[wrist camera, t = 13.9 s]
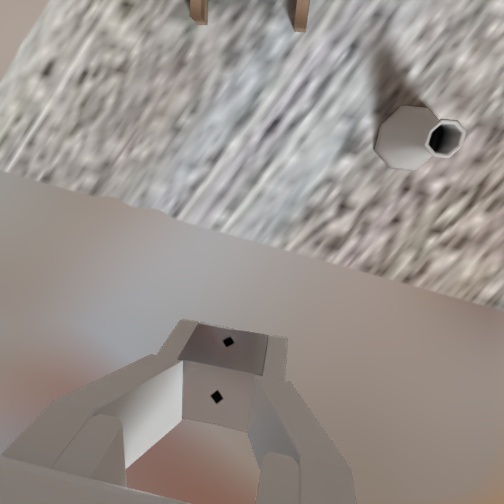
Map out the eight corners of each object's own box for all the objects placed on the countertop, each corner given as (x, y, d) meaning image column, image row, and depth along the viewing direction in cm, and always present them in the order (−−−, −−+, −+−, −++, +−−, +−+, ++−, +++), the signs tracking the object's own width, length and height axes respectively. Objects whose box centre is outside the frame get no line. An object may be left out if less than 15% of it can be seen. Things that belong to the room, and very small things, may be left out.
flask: (398, 93, 34) (435, 76, 25) (455, 122, 34) (513, 115, 25) (362, 154, 37) (384, 159, 27) (415, 181, 37) (454, 194, 27)
